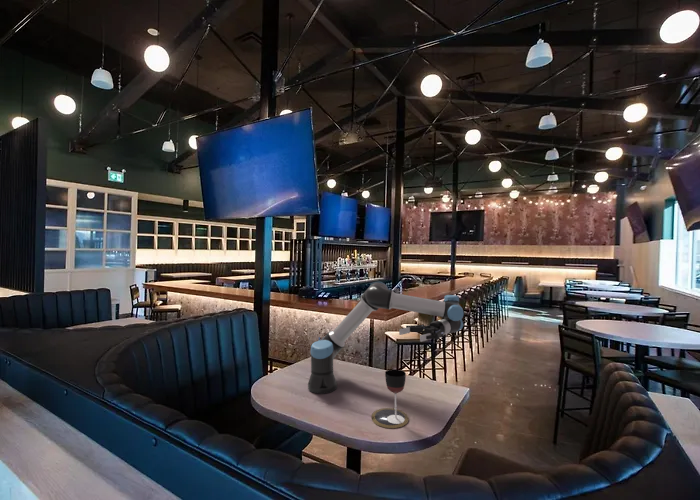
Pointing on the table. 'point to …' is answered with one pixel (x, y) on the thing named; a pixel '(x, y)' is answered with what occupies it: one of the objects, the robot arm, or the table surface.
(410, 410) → the table surface
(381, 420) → the coaster
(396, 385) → the wineglass
